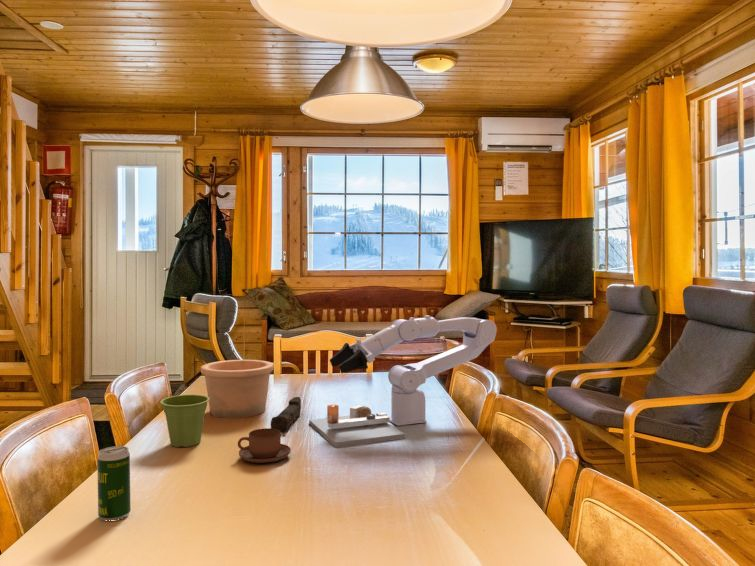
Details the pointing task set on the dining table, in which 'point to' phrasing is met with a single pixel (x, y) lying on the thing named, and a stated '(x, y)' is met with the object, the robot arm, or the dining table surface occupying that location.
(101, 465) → the beer can
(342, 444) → the flat white platform
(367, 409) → the brown sphere
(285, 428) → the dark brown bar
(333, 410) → the lever
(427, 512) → the dining table surface
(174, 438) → the plant pot
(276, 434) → the cup and saucer
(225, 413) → the pottery
